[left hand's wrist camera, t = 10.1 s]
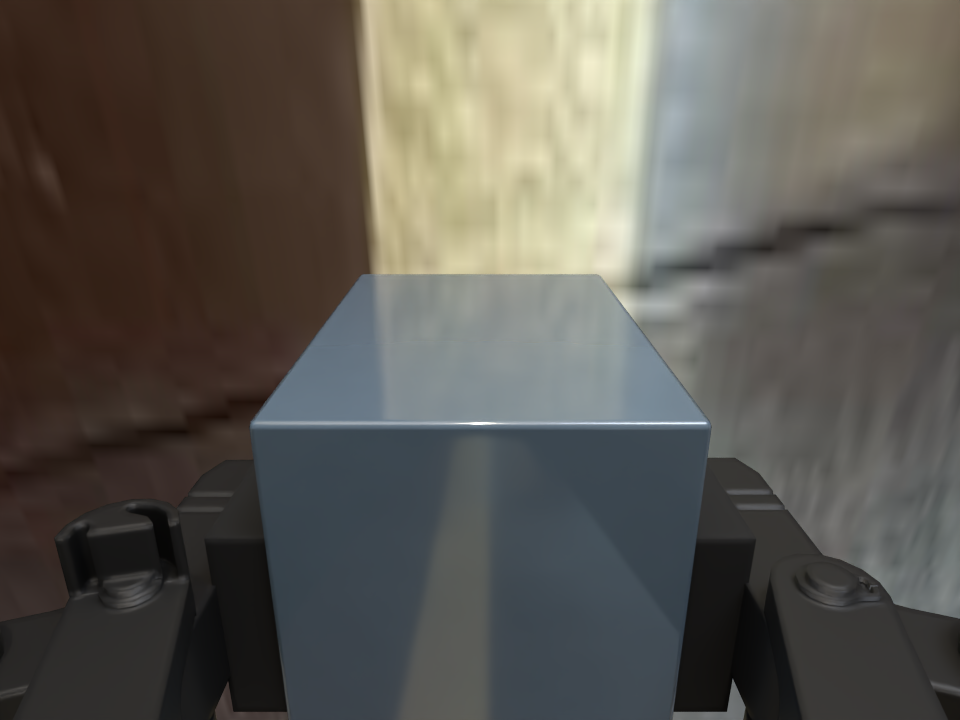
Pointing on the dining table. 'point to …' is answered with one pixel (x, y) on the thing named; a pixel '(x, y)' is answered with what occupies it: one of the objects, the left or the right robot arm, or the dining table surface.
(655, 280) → the dining table surface
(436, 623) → the block
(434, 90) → the dining table surface
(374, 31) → the dining table surface
